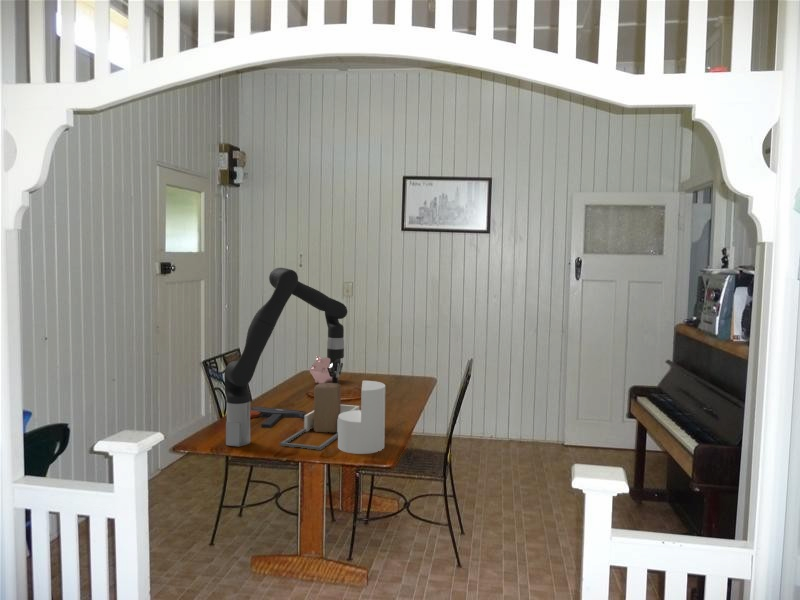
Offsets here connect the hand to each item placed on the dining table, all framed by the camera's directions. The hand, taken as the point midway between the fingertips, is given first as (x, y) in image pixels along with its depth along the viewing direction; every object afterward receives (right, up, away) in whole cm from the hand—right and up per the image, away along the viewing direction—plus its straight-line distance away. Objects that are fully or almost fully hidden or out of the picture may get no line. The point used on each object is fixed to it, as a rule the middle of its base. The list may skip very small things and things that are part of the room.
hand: (335, 385), depth 291 cm
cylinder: (+14, -21, -30) cm, 39 cm away
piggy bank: (-15, -11, +88) cm, 90 cm away
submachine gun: (-30, -18, +7) cm, 35 cm away
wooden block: (-3, -19, -7) cm, 20 cm away
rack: (-1, -18, -1) cm, 18 cm away
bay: (-7, -20, -22) cm, 31 cm away
